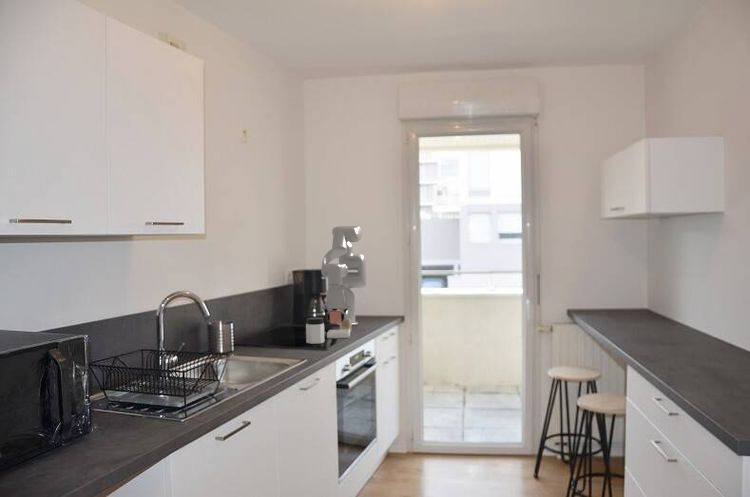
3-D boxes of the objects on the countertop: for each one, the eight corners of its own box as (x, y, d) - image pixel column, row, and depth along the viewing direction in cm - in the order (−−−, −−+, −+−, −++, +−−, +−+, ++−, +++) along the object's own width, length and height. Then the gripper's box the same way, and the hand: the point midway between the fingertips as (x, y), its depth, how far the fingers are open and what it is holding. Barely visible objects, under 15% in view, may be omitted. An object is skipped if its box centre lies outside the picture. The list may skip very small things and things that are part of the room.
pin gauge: (343, 331, 335) (343, 309, 334) (348, 331, 334) (347, 309, 334) (343, 331, 332) (342, 310, 332) (347, 331, 332) (347, 310, 332)
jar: (312, 340, 303) (311, 317, 303) (326, 341, 300) (326, 317, 300) (303, 343, 294) (303, 319, 294) (318, 344, 292) (318, 319, 291)
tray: (329, 335, 321) (329, 329, 321) (350, 334, 320) (350, 329, 320) (327, 338, 309) (326, 332, 309) (348, 337, 309) (348, 332, 309)
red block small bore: (331, 321, 322) (330, 310, 322) (342, 321, 322) (341, 310, 322) (329, 323, 316) (329, 311, 316) (341, 323, 316) (340, 311, 316)
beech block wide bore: (340, 330, 336) (340, 320, 336) (351, 330, 336) (351, 319, 336) (339, 332, 330) (339, 321, 330) (350, 332, 330) (350, 321, 330)
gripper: (351, 286, 322) (352, 320, 322) (320, 287, 323) (320, 320, 323) (350, 287, 315) (351, 321, 315) (318, 288, 315) (319, 322, 315)
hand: (336, 321), depth 319 cm, fingers closed on red block small bore, 6 cm apart
